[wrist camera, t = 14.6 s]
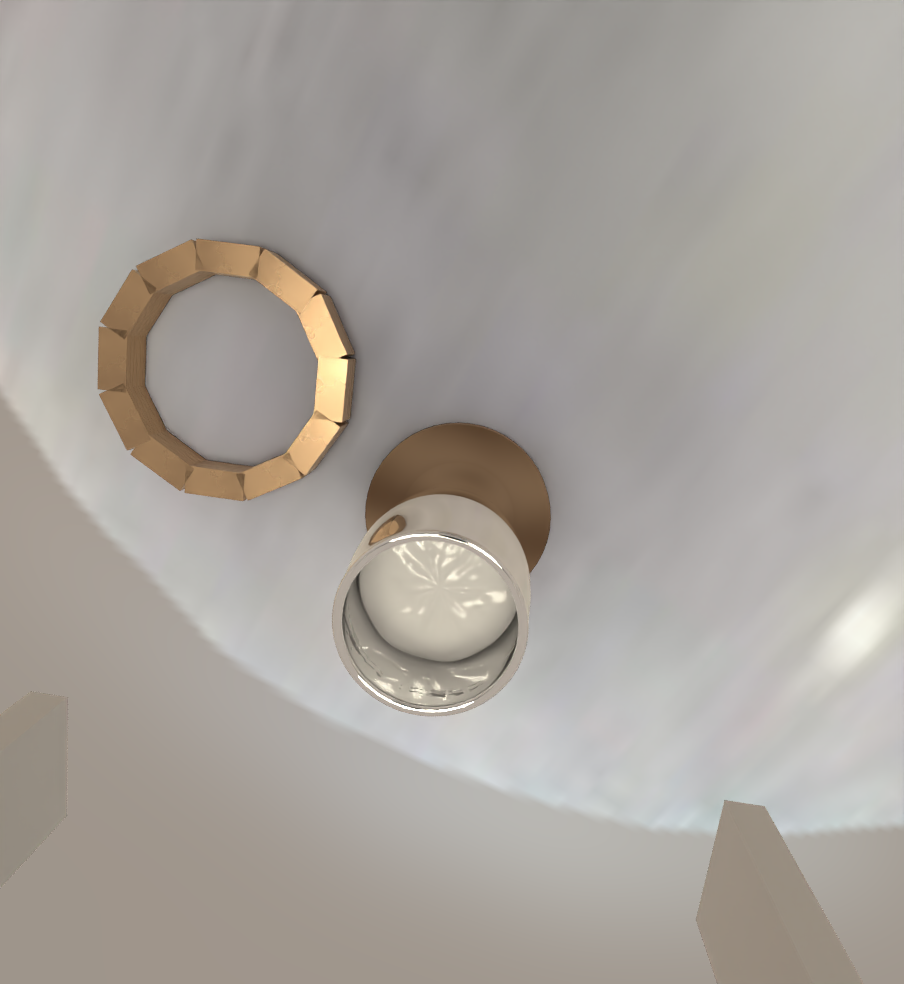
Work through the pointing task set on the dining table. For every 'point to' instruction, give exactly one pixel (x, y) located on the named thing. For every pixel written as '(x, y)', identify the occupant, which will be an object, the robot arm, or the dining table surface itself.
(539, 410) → the dining table surface
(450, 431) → the walnut coaster
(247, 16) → the dining table surface
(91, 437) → the dining table surface
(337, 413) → the ring
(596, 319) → the dining table surface
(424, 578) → the beer glass
